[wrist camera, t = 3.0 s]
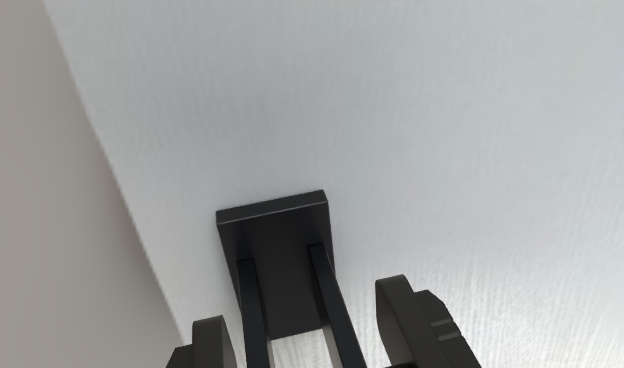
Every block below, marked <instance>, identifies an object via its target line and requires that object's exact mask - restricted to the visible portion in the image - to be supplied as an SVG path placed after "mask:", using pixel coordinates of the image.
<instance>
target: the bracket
mask: <svg viewBox="0 0 624 368" xmlns="http://www.w3.org/2000/svg"><path fill="white" fill-rule="evenodd" d="M216 225H217V228H218V232H219V236H220V239H221V243H222V246H223V250H224V254H225V257H226V261H227V265H228V268H229V272H230V276H231V279H232V283H233V286H234V290H235V294H236V297H237V301H238V305H239V308H240V312H241V316H242V323H243V333H244V342H245V352H246V362H247V368H275V363H274V357H273V351H272V345H271V340H276V339H280V338H284V337H288V336H292V335H297V334H301V333H305V332H309V331H314V330H318V329H323V333H324V336H325V340H326V343H327V347H328V350H329V354H330V358H331V361H332V365H333V368H367V365H366V362H365V359H364V357H363V354H362V351H361V348H360V345H359V342H358V340H357V337H356V334H355V331H354V328H353V325H352V322H351V320H350V317H349V314H348V311H347V308H346V305H345V303H344V300H343V297H342V294H341V291H340V288H339V285H338V283H337V280H336V274H335V264H334V255H333V245H332V235H331V225H330V215H329V205H328V200H327V198H326V195H325V193H324V191H323V190H319V191H314V192H309V193H304V194H299V195H294V196H289V197H284V198H279V199H274V200H269V201H264V202H259V203H254V204H249V205H245V206H240V207H235V208H230V209H225V210H220V211H216Z"/></svg>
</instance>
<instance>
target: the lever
mask: <svg viewBox="0 0 624 368" xmlns="http://www.w3.org/2000/svg"><path fill="white" fill-rule="evenodd" d="M385 368H412V367H411V366H410V365H409V364H408V363H401V364H397V365H393V366H389V367H385Z"/></svg>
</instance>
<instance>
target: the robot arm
mask: <svg viewBox="0 0 624 368" xmlns="http://www.w3.org/2000/svg"><path fill="white" fill-rule="evenodd" d="M375 292H376V318H377V325H378V329H379V333H380V337H381V340H382V342H383V345H384V347H385V350H386V352H387V355H388V357H389V360H390V362H391V365H392V366H393V365H397V364H401V363H408V364H409V365H410V366H411V367H412V368H482V367H481V366H480V364H479V362H478V361H477V359H476V357H475V355H474V354H473V352H472V350H471V349H470V347H469V345H468V344H467V342H466V340H465V338H464V337H463V336H462V335H461V332H460V330H459V328H458V326H457V325H456V323H455V322H454V321H453V318H452V316H451V315H450V313H449V311H448V309H447V308H446V306H445V304H444V303H443V302H442V301H441V300H440V299H439V298H437V297H436V296H435V295H434V294H432V293H431V292H430V291H429V290H423V291H419V292H415V293H414V292H413V290H412V288H411V286H410V284H409V282H408V280H407V279H406V277H405V276H404V275H403V274H401V275H397V276H392V277H388V278H384V279H379V280H376V282H375ZM166 368H237V363H236V358H235V353H234V350H233V347H232V343H231V340H230V337H229V334H228V330H227V327H226V324H225V321H224V318H223V316H222V315H220V316H215V317H211V318H207V319H202V320H198V321H194V322H193V326H192V344H190V345H186V346H182V347H177V348H175V350H174V352H173V354H172V356H171V358H170V360H169V362H168V364H167V366H166Z"/></svg>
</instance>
